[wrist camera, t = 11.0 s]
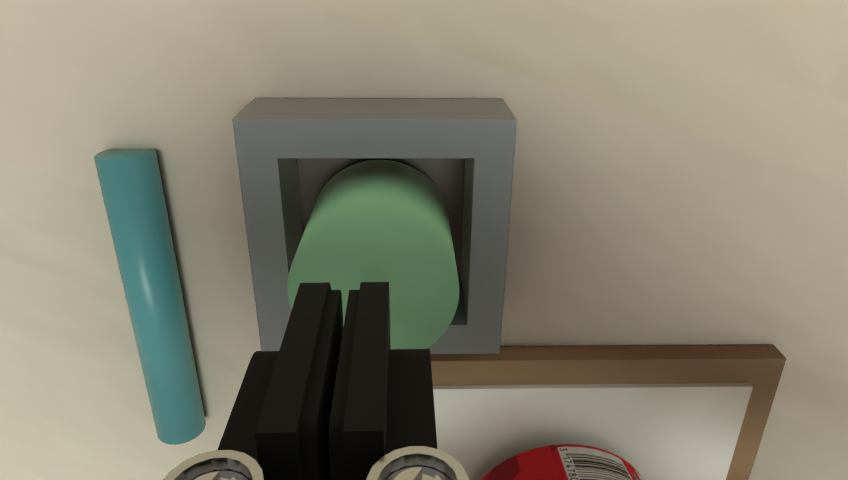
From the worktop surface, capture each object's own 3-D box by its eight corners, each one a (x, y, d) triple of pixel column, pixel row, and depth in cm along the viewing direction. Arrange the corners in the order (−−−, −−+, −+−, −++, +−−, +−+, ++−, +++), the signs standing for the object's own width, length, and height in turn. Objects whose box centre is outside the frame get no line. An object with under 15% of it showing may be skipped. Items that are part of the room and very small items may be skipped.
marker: (179, 408, 22) (215, 418, 22) (147, 437, 21) (184, 449, 20) (125, 144, 18) (168, 149, 18) (80, 158, 17) (126, 165, 16)
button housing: (489, 309, 20) (499, 353, 18) (278, 310, 20) (261, 355, 18) (502, 98, 17) (516, 119, 15) (255, 98, 17) (232, 119, 15)
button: (447, 284, 19) (456, 363, 15) (317, 285, 19) (295, 364, 15) (450, 159, 17) (462, 214, 13) (307, 159, 17) (280, 213, 13)
